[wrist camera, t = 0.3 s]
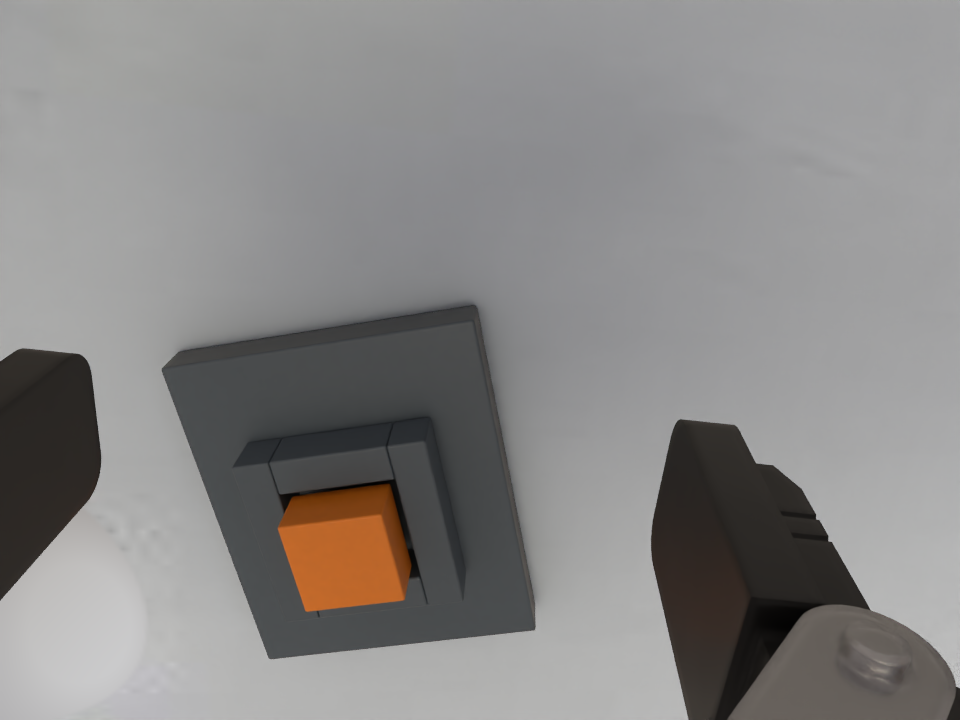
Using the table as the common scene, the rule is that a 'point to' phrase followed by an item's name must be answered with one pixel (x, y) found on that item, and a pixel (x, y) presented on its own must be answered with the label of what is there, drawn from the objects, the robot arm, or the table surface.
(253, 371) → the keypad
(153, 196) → the table surface
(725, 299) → the table surface
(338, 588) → the key
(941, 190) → the table surface
